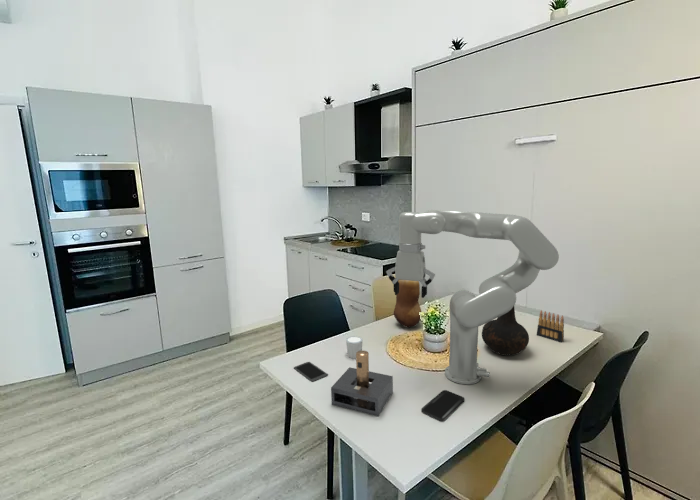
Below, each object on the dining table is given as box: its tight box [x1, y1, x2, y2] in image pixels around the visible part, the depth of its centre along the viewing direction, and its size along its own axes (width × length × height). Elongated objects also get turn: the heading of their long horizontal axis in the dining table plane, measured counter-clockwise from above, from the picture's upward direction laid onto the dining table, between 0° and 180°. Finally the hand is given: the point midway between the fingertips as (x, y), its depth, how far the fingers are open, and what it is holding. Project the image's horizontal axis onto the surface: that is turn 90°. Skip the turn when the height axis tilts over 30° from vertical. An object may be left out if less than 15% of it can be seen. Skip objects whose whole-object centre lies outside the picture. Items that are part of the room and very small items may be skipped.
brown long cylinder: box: [355, 349, 370, 401], centre depth 118 cm, size 4×4×16 cm
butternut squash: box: [393, 279, 422, 329], centre depth 178 cm, size 14×13×25 cm
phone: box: [420, 389, 466, 423], centre depth 115 cm, size 8×1×15 cm
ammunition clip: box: [536, 309, 565, 344], centre depth 160 cm, size 11×2×12 cm, turn 38°
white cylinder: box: [345, 335, 363, 360], centre depth 149 cm, size 7×7×7 cm
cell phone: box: [293, 361, 329, 383], centre depth 138 cm, size 7×14×1 cm, turn 38°
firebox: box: [330, 366, 394, 417], centre depth 119 cm, size 16×14×6 cm
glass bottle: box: [481, 306, 530, 356], centre depth 148 cm, size 18×18×28 cm
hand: (410, 295), depth 129 cm, fingers open, 9 cm apart
